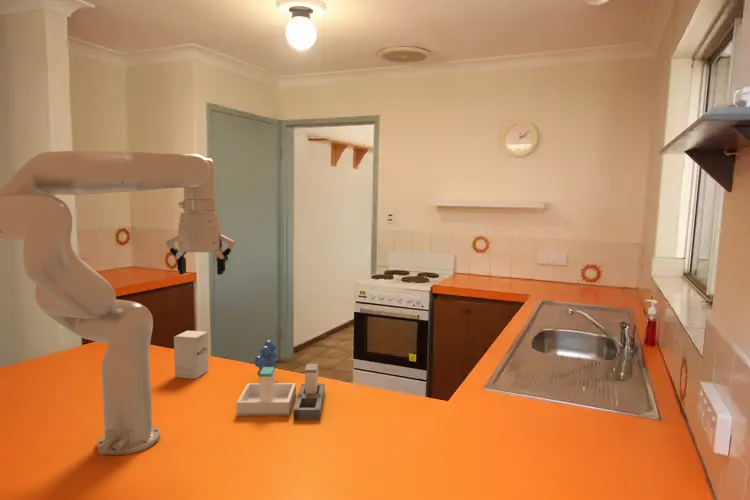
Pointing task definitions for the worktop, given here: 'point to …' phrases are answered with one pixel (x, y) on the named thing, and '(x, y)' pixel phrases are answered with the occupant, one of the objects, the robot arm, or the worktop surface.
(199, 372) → the supplement box
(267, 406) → the tray
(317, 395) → the frame
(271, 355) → the grapes
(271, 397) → the block
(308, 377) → the block
